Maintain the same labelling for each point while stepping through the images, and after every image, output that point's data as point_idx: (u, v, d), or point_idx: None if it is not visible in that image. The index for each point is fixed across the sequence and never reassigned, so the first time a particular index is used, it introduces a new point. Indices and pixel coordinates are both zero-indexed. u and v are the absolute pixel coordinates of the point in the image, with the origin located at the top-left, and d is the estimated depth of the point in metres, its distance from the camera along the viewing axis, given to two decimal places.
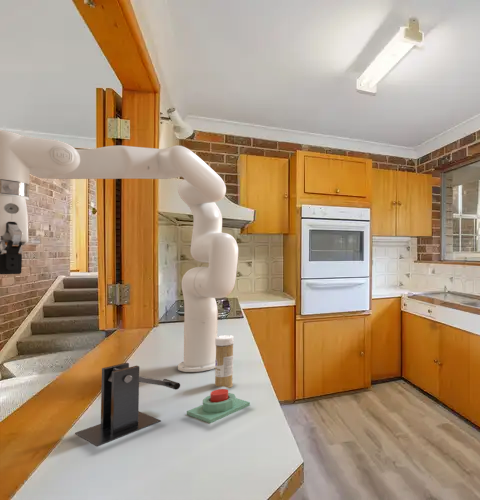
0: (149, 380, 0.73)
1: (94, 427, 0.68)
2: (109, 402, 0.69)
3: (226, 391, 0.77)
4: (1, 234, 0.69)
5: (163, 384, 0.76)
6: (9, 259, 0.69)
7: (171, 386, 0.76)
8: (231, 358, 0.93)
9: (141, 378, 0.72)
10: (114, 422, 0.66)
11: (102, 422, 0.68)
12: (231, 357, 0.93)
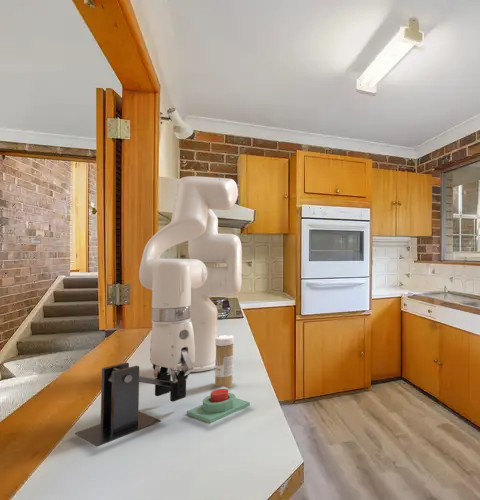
0: (149, 380, 0.73)
1: (94, 427, 0.68)
2: (109, 402, 0.69)
3: (226, 391, 0.77)
4: (176, 366, 0.74)
5: (163, 384, 0.76)
6: (179, 387, 0.76)
7: None
8: (231, 358, 0.93)
9: (141, 378, 0.72)
10: (114, 422, 0.66)
11: (102, 422, 0.68)
12: (231, 357, 0.93)
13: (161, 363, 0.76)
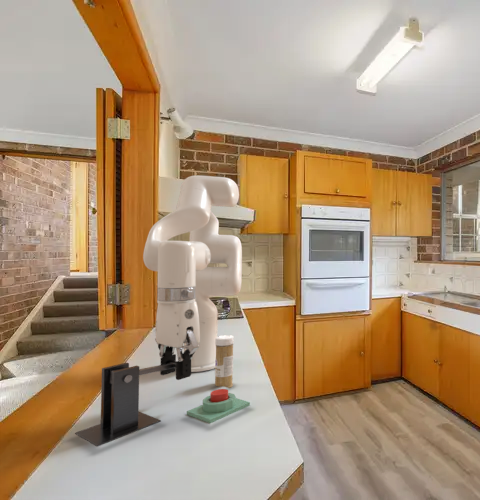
0: (152, 369, 0.74)
1: (94, 427, 0.68)
2: (109, 402, 0.69)
3: (226, 391, 0.77)
4: (181, 344, 0.76)
5: (168, 368, 0.77)
6: (184, 365, 0.77)
7: None
8: (231, 358, 0.93)
9: (142, 371, 0.72)
10: (114, 422, 0.66)
11: (102, 422, 0.68)
12: (231, 357, 0.93)
13: (166, 342, 0.77)
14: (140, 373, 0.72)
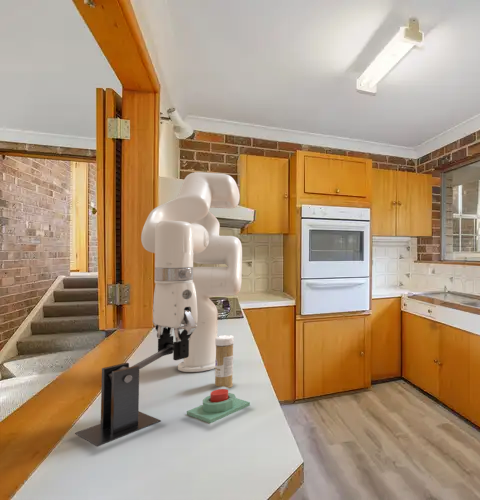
0: (150, 360, 0.74)
1: (94, 427, 0.68)
2: (109, 402, 0.69)
3: (226, 391, 0.77)
4: (179, 325, 0.75)
5: (166, 352, 0.77)
6: (182, 346, 0.76)
7: None
8: (231, 358, 0.93)
9: (141, 364, 0.72)
10: (114, 422, 0.66)
11: (102, 422, 0.68)
12: (231, 357, 0.93)
13: (164, 322, 0.77)
14: (139, 367, 0.72)
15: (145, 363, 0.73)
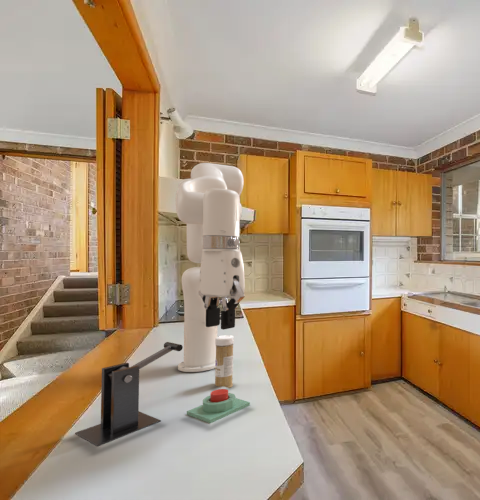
0: (150, 360, 0.74)
1: (94, 427, 0.68)
2: (109, 402, 0.69)
3: (226, 391, 0.77)
4: None
5: (166, 352, 0.77)
6: (229, 315, 0.76)
7: None
8: (231, 358, 0.93)
9: (141, 364, 0.72)
10: (114, 422, 0.66)
11: (102, 422, 0.68)
12: (231, 357, 0.93)
13: (212, 291, 0.76)
14: (139, 367, 0.72)
15: (145, 363, 0.73)
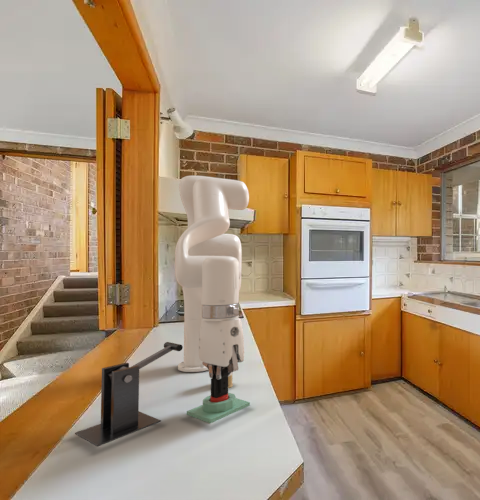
0: (150, 360, 0.74)
1: (94, 427, 0.68)
2: (109, 402, 0.69)
3: (226, 394, 0.77)
4: (224, 366, 0.74)
5: (166, 352, 0.77)
6: (222, 383, 0.76)
7: None
8: None
9: (141, 364, 0.72)
10: (114, 422, 0.66)
11: (102, 422, 0.68)
12: None
13: (211, 360, 0.75)
14: (139, 367, 0.72)
15: (145, 363, 0.73)
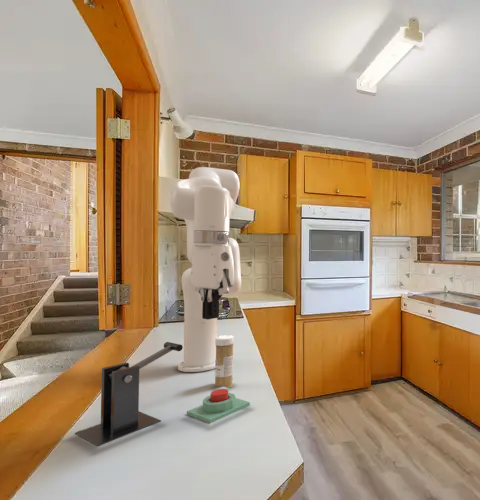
0: (150, 360, 0.74)
1: (94, 427, 0.68)
2: (109, 402, 0.69)
3: (226, 391, 0.77)
4: (215, 289, 0.79)
5: (166, 352, 0.77)
6: (213, 306, 0.80)
7: None
8: (231, 358, 0.93)
9: (141, 364, 0.72)
10: (114, 422, 0.66)
11: (102, 422, 0.68)
12: (231, 357, 0.93)
13: (203, 283, 0.79)
14: (139, 367, 0.72)
15: (145, 363, 0.73)
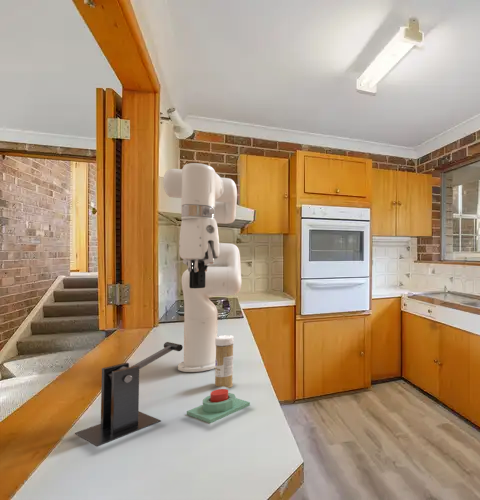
0: (150, 360, 0.74)
1: (94, 427, 0.68)
2: (109, 402, 0.69)
3: (226, 391, 0.77)
4: (200, 259, 0.84)
5: (166, 352, 0.77)
6: (199, 276, 0.86)
7: None
8: (231, 358, 0.93)
9: (141, 364, 0.72)
10: (114, 422, 0.66)
11: (102, 422, 0.68)
12: (231, 357, 0.93)
13: (190, 254, 0.85)
14: (139, 367, 0.72)
15: (145, 363, 0.73)
